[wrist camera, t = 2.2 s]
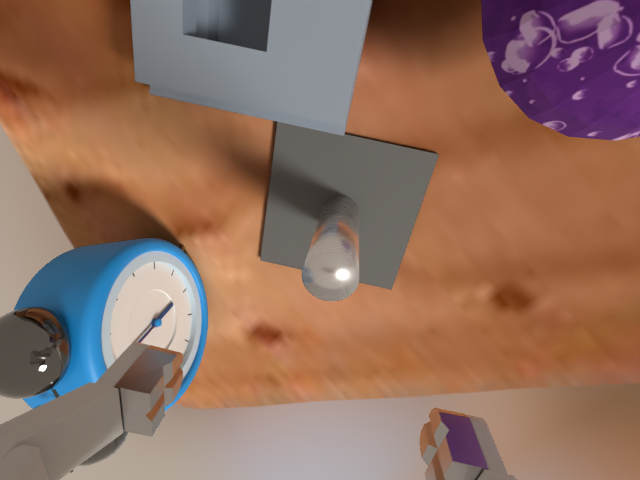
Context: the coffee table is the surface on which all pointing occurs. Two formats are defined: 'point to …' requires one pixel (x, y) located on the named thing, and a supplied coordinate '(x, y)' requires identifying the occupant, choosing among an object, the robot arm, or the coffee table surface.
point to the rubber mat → (349, 180)
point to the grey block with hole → (254, 56)
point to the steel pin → (334, 251)
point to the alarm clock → (101, 319)
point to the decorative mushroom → (569, 62)
